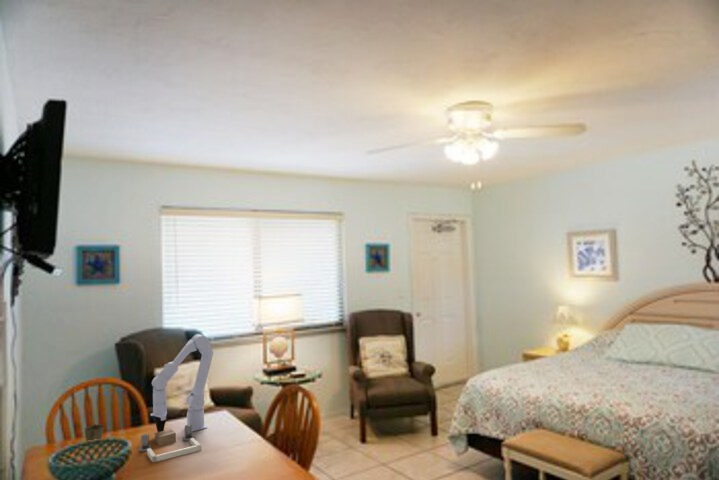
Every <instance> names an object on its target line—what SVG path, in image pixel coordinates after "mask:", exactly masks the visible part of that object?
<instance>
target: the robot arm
mask: <svg viewBox="0 0 719 480" xmlns="http://www.w3.org/2000/svg"><path fill="white" fill-rule="evenodd" d="M196 351H199V353H200V354H201V358H200V361H199V365H198V369H197V373H196V377H195V381H194V385H193V388H192V389H191V391H190V394H189V395H188V397H187V400H186V404H187V405H188V408H187V413H186V425H189V424H191V425H192V432H195V431H200V430H205V429H208V426H207V425H205V410H204V409H205V407H204V406H205V400H204V399H205V388H206V384H207V379H208V375H209V372H210V367H211V364H212V360H213V356H214V350H213V347H212V345H211V341H210V340H209V339H208V337H207V336H205V335H202V334H199V333H196V334H194V335H193V336H192V337H191V339H189V340H188V341H187V343H186V344H185V345H184V346H183V348H182V349H181V350H180V352H179V353H177V355H176V357H174V359H173V361H170V362H169V361H168V362H167V363H165V364H164V365H163V368H162V370H161V371H160V372H157V374H156V376H154V378H153V379H152V380H151V386H152V405H153V406H152V407H153V408H152V413H150V416H151V417H152V419H153V421H154V423H155V426H156V433H157V432H161V431H165V430H164V429H165V425H166V422H167V420H168V416H167V414H168V411H167V392H166V390H167V389H166V387H167V386H168V382H170V380H171V379H172V378H173V376H175V374H176V373H177V371H179V365H180V364H182V362H183V361H184V360H185V359H186V358H187V356H188V355H189V354H190V353H193V352H196Z"/></svg>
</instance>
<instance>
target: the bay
mask: <svg viewBox="0 0 719 480" xmlns="http://www.w3.org/2000/svg"><path fill="white" fill-rule="evenodd" d="M189 444H190V445H191V446H188V447H185V448H179V449H175V450H171V451H167V452H164V453H159V454H155V452H154V451H153V448H152V449H151V448H149V449H147V451H146V455H147V456H148V458H149V459H150V461H151V462H152V463H156V462H161V461H164V460H168V459H173V458H176V457H179V456H183V455H187V454H190V453H191V454H192V453H195V452H200V451H202V445H201V444H200V443H199V441H197V440H196V439H194V438H191V439H190V441H189Z"/></svg>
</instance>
